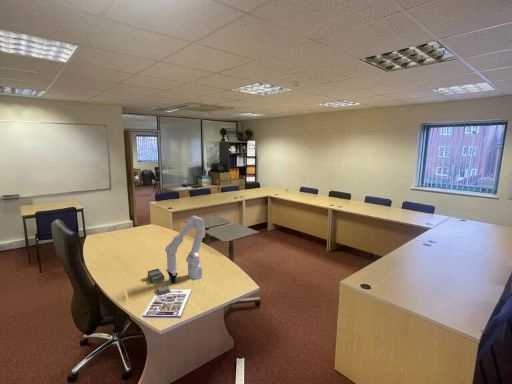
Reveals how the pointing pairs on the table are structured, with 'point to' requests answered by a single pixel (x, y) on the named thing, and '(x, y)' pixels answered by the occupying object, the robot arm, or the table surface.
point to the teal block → (170, 280)
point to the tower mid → (163, 289)
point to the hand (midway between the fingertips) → (172, 281)
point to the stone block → (155, 276)
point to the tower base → (163, 293)
